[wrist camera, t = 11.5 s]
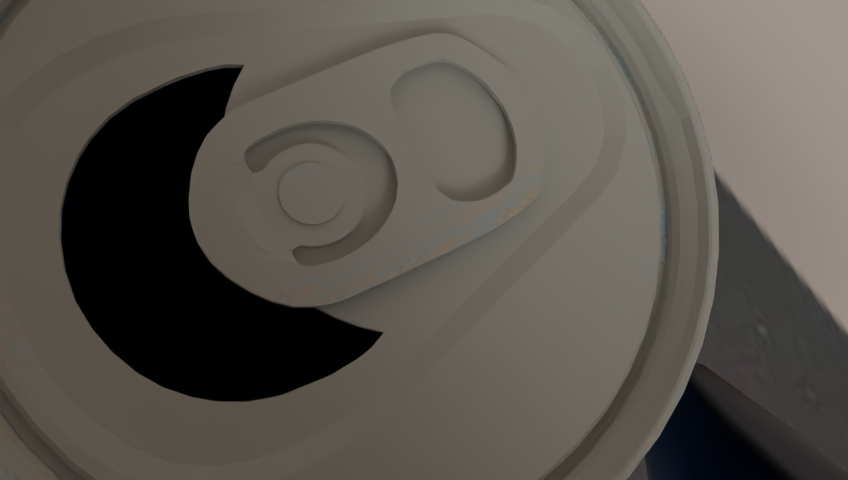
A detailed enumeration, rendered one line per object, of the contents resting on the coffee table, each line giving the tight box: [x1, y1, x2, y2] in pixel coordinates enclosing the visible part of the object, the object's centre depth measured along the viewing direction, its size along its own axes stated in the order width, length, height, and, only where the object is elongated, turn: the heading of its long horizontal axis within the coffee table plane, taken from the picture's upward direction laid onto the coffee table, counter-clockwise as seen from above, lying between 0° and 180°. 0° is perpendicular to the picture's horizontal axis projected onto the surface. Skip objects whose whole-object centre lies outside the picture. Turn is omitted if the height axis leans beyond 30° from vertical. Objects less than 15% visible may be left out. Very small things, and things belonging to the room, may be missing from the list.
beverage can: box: [0, 0, 719, 480], centre depth 11 cm, size 6×6×12 cm
